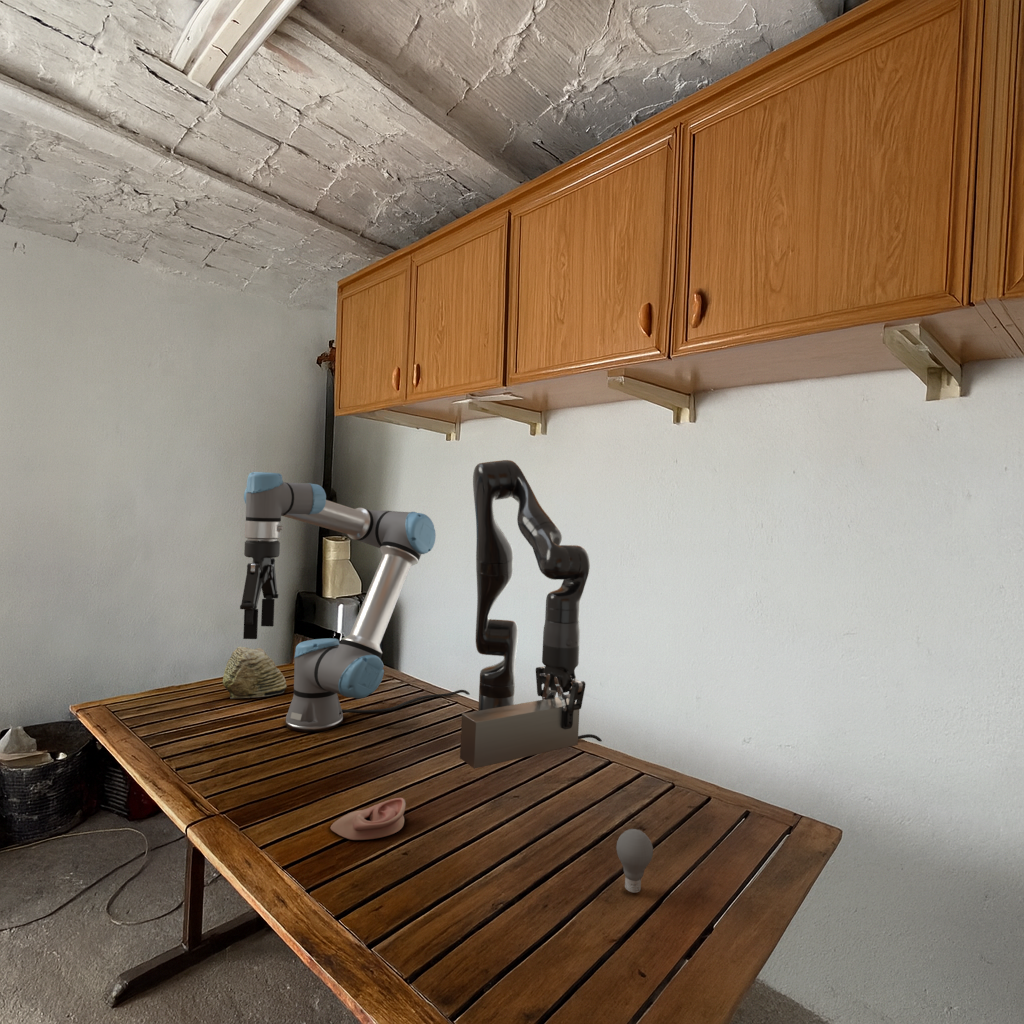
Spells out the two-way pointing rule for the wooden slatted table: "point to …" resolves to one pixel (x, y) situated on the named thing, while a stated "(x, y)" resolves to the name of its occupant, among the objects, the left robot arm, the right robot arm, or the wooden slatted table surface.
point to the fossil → (252, 674)
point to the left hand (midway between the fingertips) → (259, 632)
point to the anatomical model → (372, 821)
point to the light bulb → (634, 857)
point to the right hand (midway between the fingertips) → (557, 723)
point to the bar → (515, 732)
